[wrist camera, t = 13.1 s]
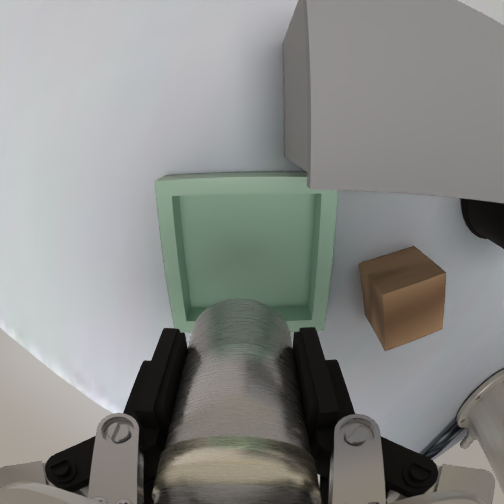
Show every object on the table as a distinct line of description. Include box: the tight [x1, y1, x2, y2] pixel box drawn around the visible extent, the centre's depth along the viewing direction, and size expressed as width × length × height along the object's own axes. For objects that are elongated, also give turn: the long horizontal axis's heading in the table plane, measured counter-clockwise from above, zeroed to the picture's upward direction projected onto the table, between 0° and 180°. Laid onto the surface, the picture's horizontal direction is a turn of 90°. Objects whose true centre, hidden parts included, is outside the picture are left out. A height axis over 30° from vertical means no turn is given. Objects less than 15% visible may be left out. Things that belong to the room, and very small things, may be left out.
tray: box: [155, 172, 338, 332], centre depth 20 cm, size 11×11×2 cm
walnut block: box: [359, 246, 446, 351], centre depth 20 cm, size 5×5×5 cm
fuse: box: [152, 298, 321, 504], centre depth 8 cm, size 4×4×9 cm
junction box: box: [283, 0, 504, 203], centre depth 13 cm, size 9×14×11 cm, turn 91°
